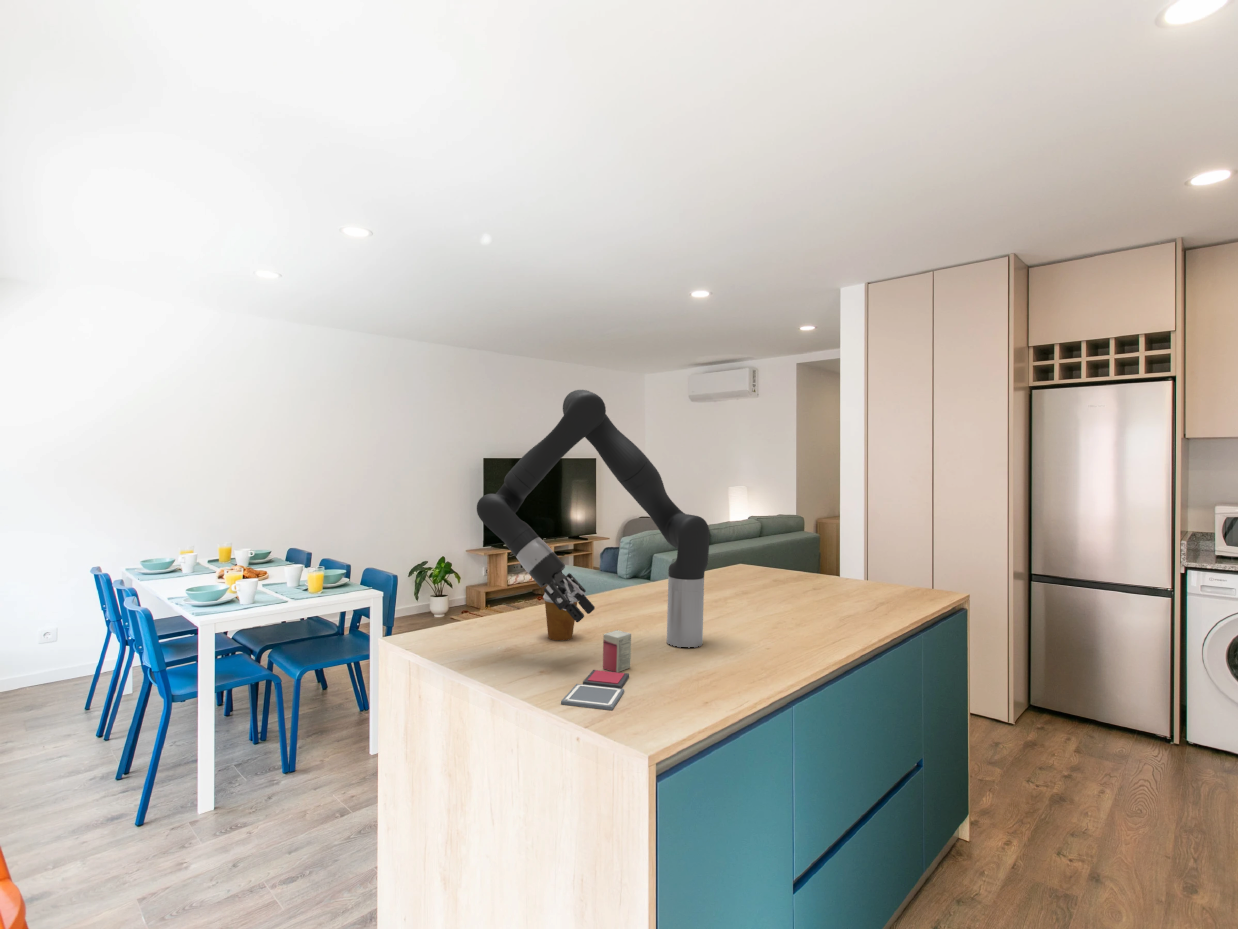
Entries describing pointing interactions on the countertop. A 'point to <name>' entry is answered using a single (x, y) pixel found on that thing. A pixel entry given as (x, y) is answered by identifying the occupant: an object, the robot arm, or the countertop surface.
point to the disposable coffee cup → (558, 621)
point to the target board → (593, 696)
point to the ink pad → (606, 679)
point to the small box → (616, 651)
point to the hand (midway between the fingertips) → (586, 615)
